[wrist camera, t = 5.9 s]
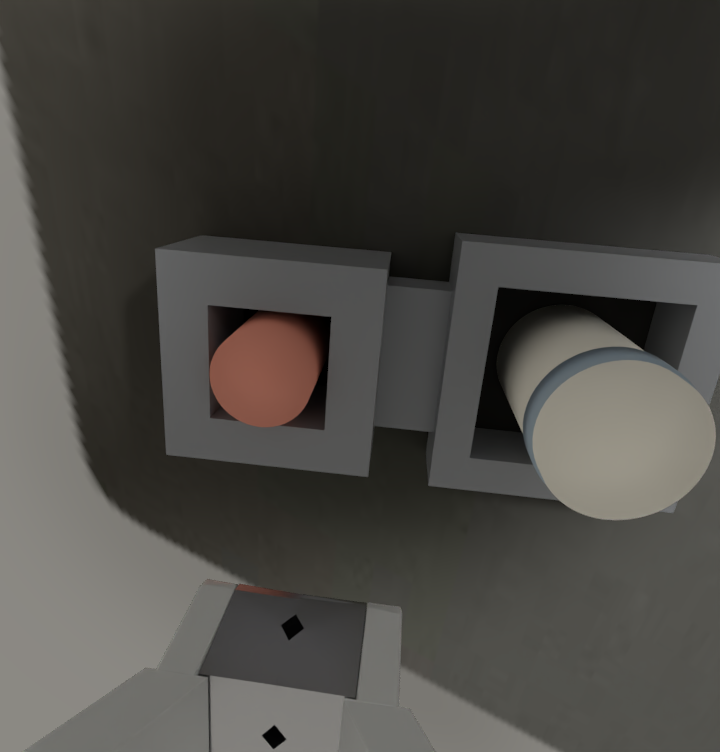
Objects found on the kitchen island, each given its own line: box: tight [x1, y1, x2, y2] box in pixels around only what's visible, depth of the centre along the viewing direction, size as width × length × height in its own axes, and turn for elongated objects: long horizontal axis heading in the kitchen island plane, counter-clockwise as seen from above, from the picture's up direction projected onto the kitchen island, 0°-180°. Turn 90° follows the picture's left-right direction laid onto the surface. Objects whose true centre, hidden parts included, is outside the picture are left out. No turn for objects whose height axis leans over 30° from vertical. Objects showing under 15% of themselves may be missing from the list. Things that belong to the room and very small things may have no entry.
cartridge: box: [496, 305, 716, 520], centre depth 20 cm, size 5×5×8 cm
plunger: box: [210, 310, 330, 427], centre depth 21 cm, size 4×4×5 cm
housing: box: [155, 233, 720, 513], centre depth 22 cm, size 20×10×4 cm, turn 85°
